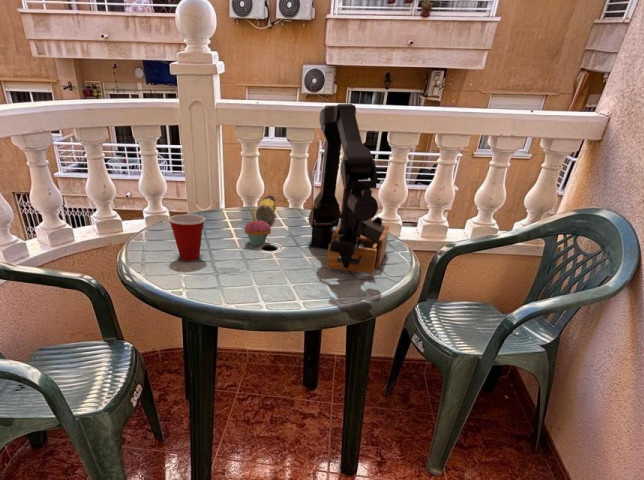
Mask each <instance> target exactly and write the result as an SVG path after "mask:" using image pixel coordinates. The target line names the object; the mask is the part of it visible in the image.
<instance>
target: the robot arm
mask: <svg viewBox="0 0 644 480" xmlns="http://www.w3.org/2000/svg"><path fill="white" fill-rule="evenodd" d="M319 126H320V130H321V133H322V135H323V138H324V148H323V159H322V171H321V181H320V190H319V192H318V194H317V195H316V197H315V198H314V200H313V205H312V207H311V210H310V212H309V215H308V225H309V226H310V228H311V240H310V243H309V247H313V248H314V247H315V248H321V249H328V247H329V243H331V245H330V251H331V252H338V253H339V254H340V257H341V260H342V263H343V266H344V268H348V267H349V264H350V262H351V259H352V256H353V254H354V253H355V251H356V249H358V247H359V245H360V244H361V242H362V239H358V238H360V237H361V235H362V236H364V237H366V238H368V239H370V240H371V241H372V242H374V243H377V242H378V240H379V239H380V237H381V235H382V233H383V231H384V229H385V228H384V225H385V224H383V218H382V217H380V216H376V215H377V213H378V209H379V204H378V200H377V199H376V198H375V197H374V196H373V191H372V189H377V183H378V182H379V178H378V177H379V176H378V172H377V170H378V169H377V165H376V161H375V159H374V157H373V155H372V151H371V149H369V147H367V146H366V145H364V144H363V140H362V136H361V133H360V127H359V123H358V120H357V107H356V104H353V103H338V104H337V105H336V104H334V105H332V104H331V105H330V104H329V105H324V108H323V109H321V110H320V112H319ZM341 149H342V151H343V156H342V160H341V162H340V157H341ZM339 166H340V169H339ZM339 170H340V176H341V182H342V186H343V190H342V191H343V192H342V202H341V208H340V204H339V201H338V199H337V197H336V191H337V183H338V174H339ZM375 216H376V217H375ZM339 224H340V228H339V230H338V234H339V235H342V237H340V236H337V237H336V238H335V239H334V240H333V241H332V234H333V232H334V231H335V230H336V229H334V228H337V227H338V226H339ZM382 225H383V226H382ZM357 237H358V238H357ZM331 241H332V242H331Z"/></svg>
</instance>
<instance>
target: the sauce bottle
mask: <svg viewBox="0 0 644 480" xmlns="http://www.w3.org/2000/svg"><path fill="white" fill-rule="evenodd" d="M276 209H277V205H276V199H275V197H274V195H267V196H265V197H263V198H262V199H261V200H260V202H259V203H258V206H257V209H256V210H255V211H256V212H255V220H261V221H265V222H266V223H268V224H270V222H271V221H272V220H273V217H274V215H275V212H276Z"/></svg>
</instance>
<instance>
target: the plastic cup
mask: <svg viewBox="0 0 644 480" xmlns="http://www.w3.org/2000/svg"><path fill="white" fill-rule="evenodd" d="M167 220H168V222H169V223H170V227H171V230H172V233H173V236H174V237H173V238H174V240H175V245H176V248H177V251H178V255H179V258H180V259H181V260H183V261H187V262H191V261H196V260H198V259H199V258H200V256H201V245H202V237H203V236H202V235H203V229H204V224H205V222H206V217H205V216H201V215H198V214H175V215H171V216H169V217H168V219H167Z"/></svg>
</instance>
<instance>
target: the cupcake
mask: <svg viewBox="0 0 644 480" xmlns="http://www.w3.org/2000/svg"><path fill="white" fill-rule="evenodd" d="M250 207H251V217H252V220H251V221H249V222H247V224H246V225H245V226H244V234H246V235H247V237H248V240H249V243H250V245H252V246H263V245H265V244H266V240H267V237H268V235H270V234H271V233H272V228H271V225H270V223H266V222H265V221H261V220H257V219H256V215H255V212H254V210H255V209H254V207H253V205H251V206H250Z"/></svg>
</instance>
